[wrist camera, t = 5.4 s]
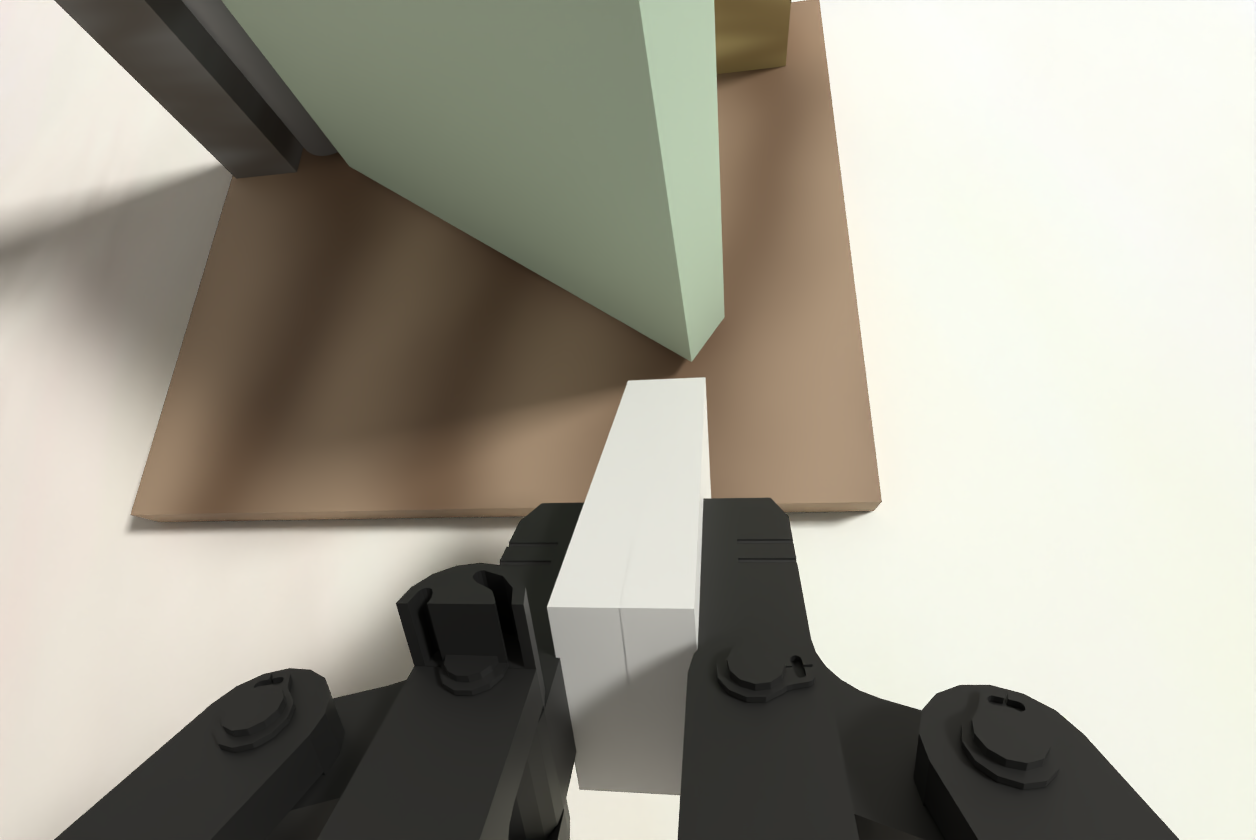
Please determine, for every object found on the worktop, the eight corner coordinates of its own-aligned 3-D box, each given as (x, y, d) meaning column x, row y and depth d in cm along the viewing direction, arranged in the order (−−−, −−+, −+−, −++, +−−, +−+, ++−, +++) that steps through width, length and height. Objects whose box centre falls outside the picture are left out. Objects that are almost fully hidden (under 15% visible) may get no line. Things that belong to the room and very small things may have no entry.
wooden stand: (159, 521, 20) (-736, 295, 8) (280, 94, 26) (-110, -399, 14) (873, 511, 17) (1236, 97, 5) (815, 25, 23) (904, -687, 11)
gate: (290, 141, 23) (-71, -284, 13) (332, 98, 23) (17, -345, 13) (685, 370, 17) (611, -62, 7) (730, 309, 18) (723, -183, 7)
